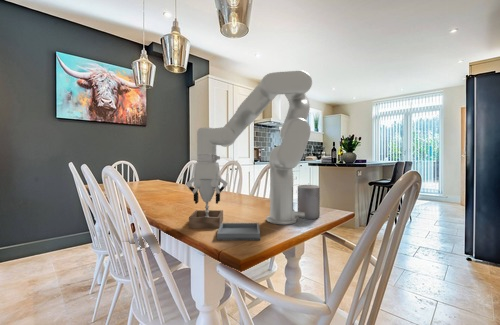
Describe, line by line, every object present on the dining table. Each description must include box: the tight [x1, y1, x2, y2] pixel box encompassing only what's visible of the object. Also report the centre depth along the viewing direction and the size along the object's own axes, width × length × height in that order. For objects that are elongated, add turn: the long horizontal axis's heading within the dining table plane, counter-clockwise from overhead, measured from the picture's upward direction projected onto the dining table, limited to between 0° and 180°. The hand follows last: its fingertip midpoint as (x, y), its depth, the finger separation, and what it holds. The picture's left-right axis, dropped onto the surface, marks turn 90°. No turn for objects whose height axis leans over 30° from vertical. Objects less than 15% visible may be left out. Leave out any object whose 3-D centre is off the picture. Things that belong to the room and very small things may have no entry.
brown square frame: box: [188, 209, 224, 229], centre depth 95 cm, size 12×12×4 cm
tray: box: [216, 222, 261, 241], centre depth 83 cm, size 14×12×2 cm
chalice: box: [198, 180, 216, 217], centre depth 95 cm, size 7×7×18 cm
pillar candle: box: [297, 183, 321, 220], centre depth 106 cm, size 10×10×15 cm
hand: (206, 202), depth 95 cm, fingers open, 7 cm apart
